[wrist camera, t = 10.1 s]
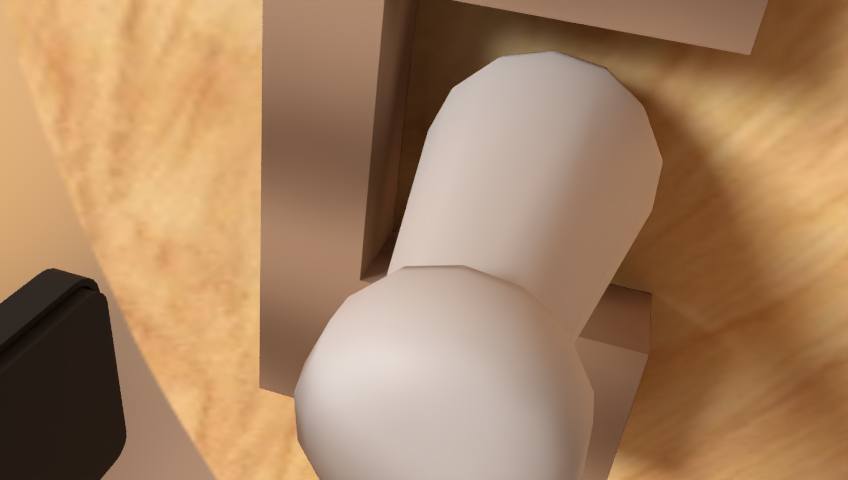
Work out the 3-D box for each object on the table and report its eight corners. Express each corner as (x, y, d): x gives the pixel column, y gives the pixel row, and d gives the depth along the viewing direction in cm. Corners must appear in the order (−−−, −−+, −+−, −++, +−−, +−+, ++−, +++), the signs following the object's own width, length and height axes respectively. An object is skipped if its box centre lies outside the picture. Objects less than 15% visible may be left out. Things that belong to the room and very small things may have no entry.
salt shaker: (700, 72, 19) (733, 408, 8) (614, 256, 22) (558, 678, 11) (480, -2, 20) (248, 222, 9) (426, 187, 23) (202, 525, 12)
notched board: (322, -279, 18) (265, -294, 16) (815, -218, 16) (843, -223, 14) (297, 334, 27) (259, 387, 25) (610, 419, 25) (604, 487, 23)
